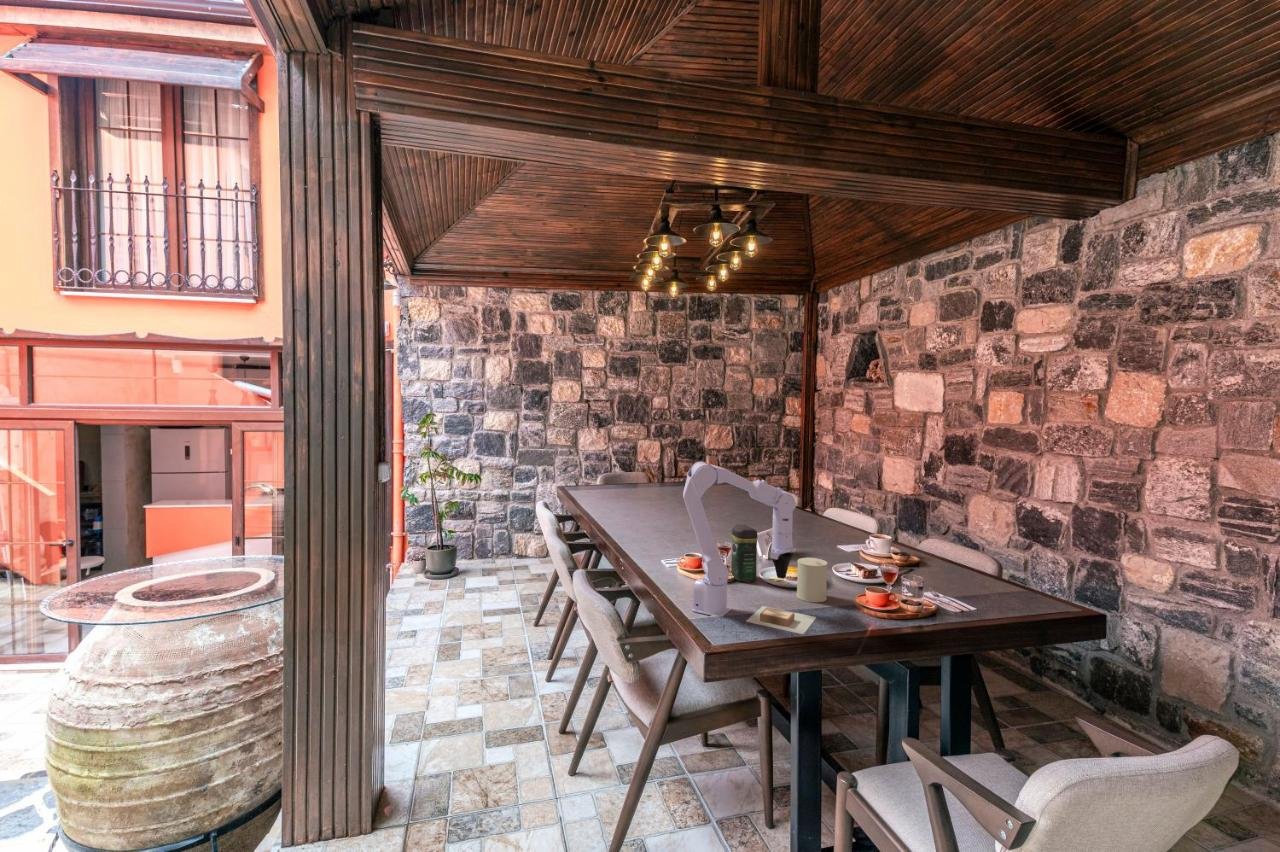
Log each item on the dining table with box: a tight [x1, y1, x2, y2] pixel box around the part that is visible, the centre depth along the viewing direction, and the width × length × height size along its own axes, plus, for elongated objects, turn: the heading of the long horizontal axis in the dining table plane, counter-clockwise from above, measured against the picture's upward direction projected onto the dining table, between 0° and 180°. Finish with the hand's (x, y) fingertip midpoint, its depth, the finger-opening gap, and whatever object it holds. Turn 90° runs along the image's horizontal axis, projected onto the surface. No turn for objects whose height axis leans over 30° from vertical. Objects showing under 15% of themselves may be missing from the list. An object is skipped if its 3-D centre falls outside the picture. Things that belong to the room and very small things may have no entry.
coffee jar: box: [730, 524, 758, 583], centre depth 199 cm, size 10×8×19 cm
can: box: [796, 557, 828, 603], centre depth 181 cm, size 9×9×12 cm
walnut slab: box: [760, 606, 796, 627], centre depth 160 cm, size 8×2×6 cm
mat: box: [745, 605, 817, 635], centre depth 161 cm, size 16×14×1 cm
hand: (781, 577), depth 169 cm, fingers closed
